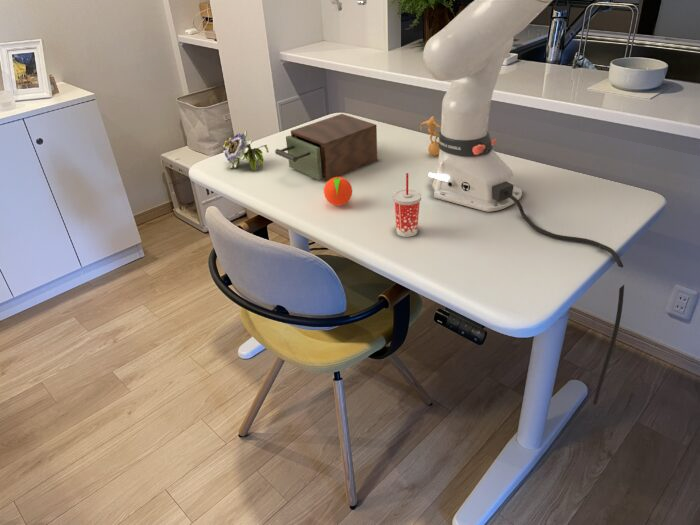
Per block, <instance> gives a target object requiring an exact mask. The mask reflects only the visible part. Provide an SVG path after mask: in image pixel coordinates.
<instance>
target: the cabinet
mask: <svg viewBox="0 0 700 525" xmlns="http://www.w3.org/2000/svg"><path fill="white" fill-rule="evenodd" d="M377 131H378V130H377V124H376V123H373V122H369V121H366V120H362V119H359V118H357V117H353V116H350V115H347V114H344V113H340V114H337V115H333V116H330V117H328V118H325V119H322V120H319V121H316V122H313V123H310V124H307V125H304V126H300V127H298V128H294V129H292V130H290V136H292V137H294V138H295V135H296V136H299V137H301V138H304V139H306V140H309V141H312V142H314V143H317V144H319V145H322V146H323V157H324V169H325V175H322V179H321V180H323V181H325V182H328V181H329V180H330V179H332V178H334V177H343V176H344V175H346V174H350V173H351V172H354V171H356V170H359V169H362V168H364V167H365V166H366V167H367V166H368V165H371V164H373V163H376V162H378V134H377V133H378V132H377Z"/></svg>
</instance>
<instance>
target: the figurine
mask: <svg viewBox="0 0 700 525" xmlns="http://www.w3.org/2000/svg"><path fill="white" fill-rule="evenodd" d="M424 125H427V128H428V129H427V132H428V134H429V135H430V136H429V140H430V143H429V145H428V149H427V151H428V154H430V155H431V156H433V157H437V156H439V151H440V148H439V146H438V143H439V142H438V141H437V140H438V139H439V132H438V130H437V129H435V128H436V127H437V128H439V129H440V130H441V125H440V124H438V123H437V122H436V120H435V116H434V115H432V116H431V117H430V118H429V119H427V120H425V121H423V122H421V123H420V127H419V128H420V129H419V130H420V131H422V130H423V126H424ZM433 135H434V136H435V137H434V140H433Z"/></svg>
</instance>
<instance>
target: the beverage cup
mask: <svg viewBox="0 0 700 525" xmlns="http://www.w3.org/2000/svg"><path fill="white" fill-rule="evenodd" d="M405 174H406V175H405V176H406V177H405V188H404V189H399V190H396V191H394V193H392V200H393V202H394V215H395V216H394V217H395V229H396V234H397V235H398V236H400V237H405V238H411V237H413V236H416V235H417V234H418V226H419V217H420V216H419V215H420V214H419V213H420V204H421V201H422V193H421V192H420V191H419V190H416V189H410V188H409V173H408V172H406V173H405Z"/></svg>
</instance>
